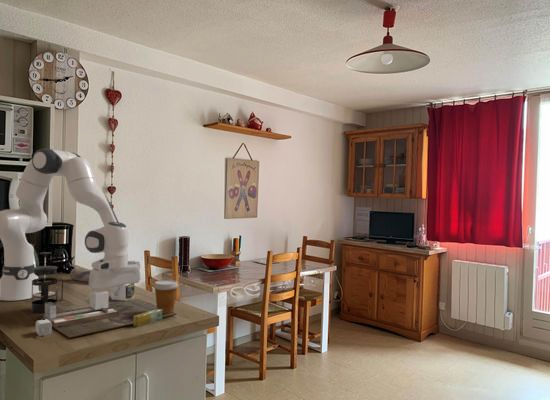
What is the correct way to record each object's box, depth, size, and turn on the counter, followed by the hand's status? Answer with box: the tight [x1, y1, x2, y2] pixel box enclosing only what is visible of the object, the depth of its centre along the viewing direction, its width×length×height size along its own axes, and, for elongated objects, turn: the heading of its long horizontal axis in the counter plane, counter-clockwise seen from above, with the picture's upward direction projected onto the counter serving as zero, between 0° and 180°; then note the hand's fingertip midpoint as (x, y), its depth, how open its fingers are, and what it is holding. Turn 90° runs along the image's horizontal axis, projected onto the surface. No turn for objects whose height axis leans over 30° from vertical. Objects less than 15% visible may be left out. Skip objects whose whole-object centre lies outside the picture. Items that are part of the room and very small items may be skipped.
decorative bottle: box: [69, 267, 92, 283], centre depth 215 cm, size 26×8×7 cm, turn 66°
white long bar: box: [44, 302, 107, 320], centre depth 157 cm, size 6×21×5 cm, turn 135°
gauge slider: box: [88, 289, 110, 312], centre depth 161 cm, size 10×5×6 cm, turn 45°
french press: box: [30, 251, 64, 314], centre depth 165 cm, size 12×9×23 cm
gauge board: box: [42, 306, 120, 329], centre depth 157 cm, size 13×23×2 cm, turn 135°
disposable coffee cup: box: [153, 279, 179, 315], centre depth 167 cm, size 10×10×12 cm
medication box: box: [132, 308, 164, 328], centre depth 153 cm, size 12×3×4 cm, turn 148°
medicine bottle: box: [110, 283, 135, 302], centre depth 185 cm, size 7×7×12 cm
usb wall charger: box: [35, 319, 53, 337], centre depth 137 cm, size 4×7×4 cm, turn 41°
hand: (115, 296), depth 167 cm, fingers closed
